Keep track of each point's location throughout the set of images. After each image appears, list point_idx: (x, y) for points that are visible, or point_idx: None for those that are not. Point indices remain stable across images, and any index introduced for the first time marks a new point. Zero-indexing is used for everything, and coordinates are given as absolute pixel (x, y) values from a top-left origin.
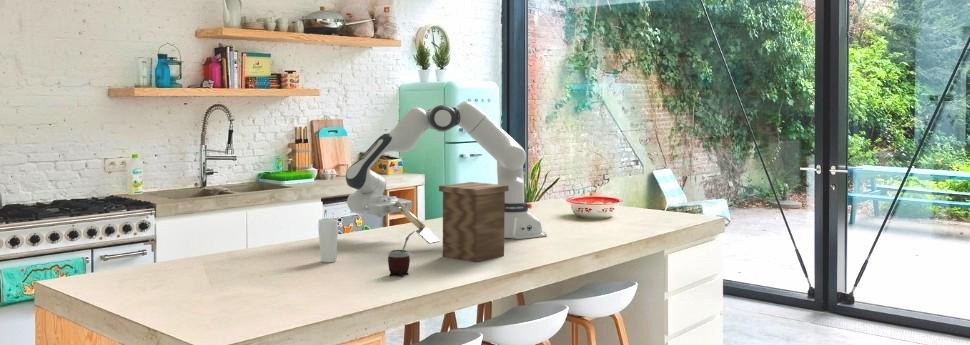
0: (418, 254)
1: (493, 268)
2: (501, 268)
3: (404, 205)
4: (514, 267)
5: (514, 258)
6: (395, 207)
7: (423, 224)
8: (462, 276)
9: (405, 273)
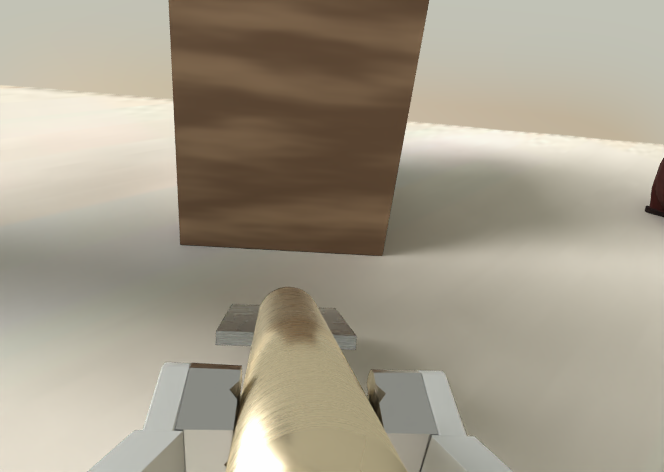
0: (445, 336)
1: None
2: None
3: (134, 454)
4: None
5: None
6: (468, 442)
7: (283, 288)
8: (509, 150)
9: (656, 207)
